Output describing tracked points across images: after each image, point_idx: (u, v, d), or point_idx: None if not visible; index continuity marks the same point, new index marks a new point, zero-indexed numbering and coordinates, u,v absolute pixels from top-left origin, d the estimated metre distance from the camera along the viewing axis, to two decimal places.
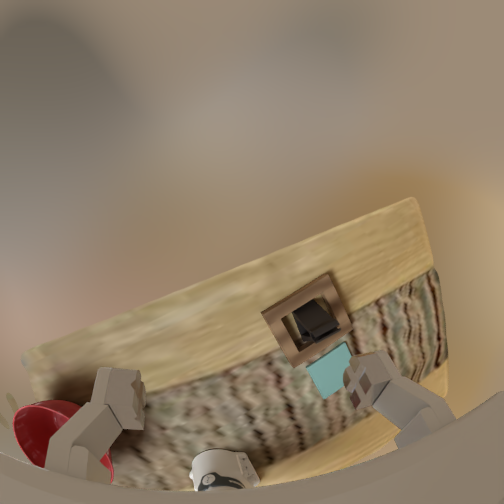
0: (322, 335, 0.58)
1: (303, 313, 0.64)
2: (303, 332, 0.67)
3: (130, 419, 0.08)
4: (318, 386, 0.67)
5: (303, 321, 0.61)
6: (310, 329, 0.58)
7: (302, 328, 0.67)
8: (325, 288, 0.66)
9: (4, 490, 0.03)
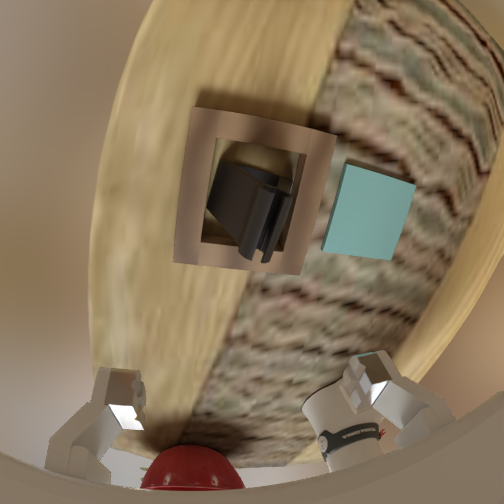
0: (270, 230, 0.25)
1: (219, 205, 0.30)
2: None
3: (130, 419, 0.08)
4: (366, 254, 0.39)
5: (225, 225, 0.29)
6: (238, 241, 0.26)
7: None
8: (213, 129, 0.27)
9: (4, 490, 0.03)
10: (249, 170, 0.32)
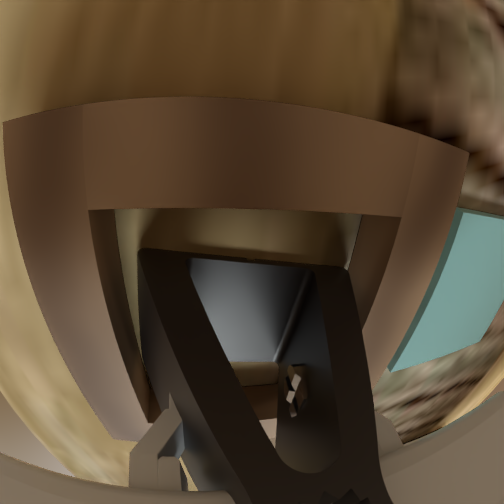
0: None
1: (159, 391, 0.10)
2: (275, 351, 0.14)
3: None
4: (452, 350, 0.18)
5: (182, 455, 0.08)
6: None
7: (255, 349, 0.14)
8: (71, 183, 0.07)
9: (4, 490, 0.03)
10: (227, 268, 0.11)
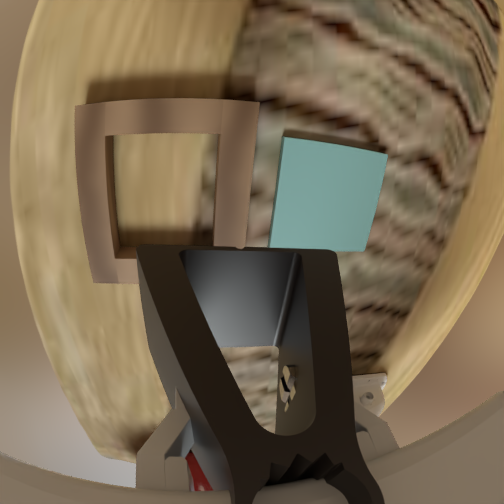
0: None
1: (162, 375, 0.11)
2: (274, 335, 0.15)
3: None
4: (329, 248, 0.32)
5: None
6: None
7: (254, 334, 0.15)
8: (100, 127, 0.20)
9: (4, 490, 0.03)
10: (218, 256, 0.12)
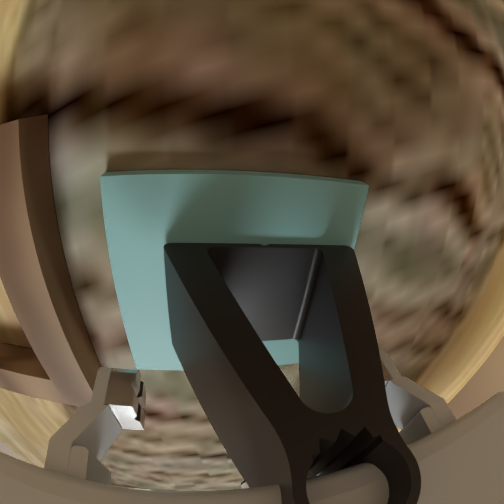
0: None
1: (191, 370, 0.11)
2: (293, 329, 0.16)
3: (130, 419, 0.08)
4: None
5: (215, 427, 0.10)
6: None
7: (275, 328, 0.15)
8: None
9: (4, 490, 0.03)
10: (244, 253, 0.13)
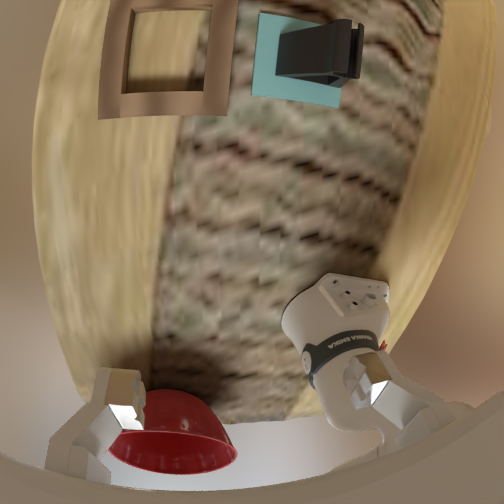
0: (351, 58, 0.22)
1: (292, 62, 0.27)
2: (325, 78, 0.31)
3: (130, 419, 0.08)
4: (305, 99, 0.33)
5: (305, 70, 0.26)
6: (326, 69, 0.23)
7: (318, 76, 0.31)
8: (128, 3, 0.21)
9: (4, 490, 0.03)
10: None
